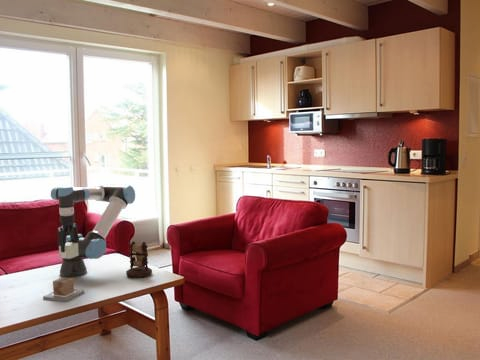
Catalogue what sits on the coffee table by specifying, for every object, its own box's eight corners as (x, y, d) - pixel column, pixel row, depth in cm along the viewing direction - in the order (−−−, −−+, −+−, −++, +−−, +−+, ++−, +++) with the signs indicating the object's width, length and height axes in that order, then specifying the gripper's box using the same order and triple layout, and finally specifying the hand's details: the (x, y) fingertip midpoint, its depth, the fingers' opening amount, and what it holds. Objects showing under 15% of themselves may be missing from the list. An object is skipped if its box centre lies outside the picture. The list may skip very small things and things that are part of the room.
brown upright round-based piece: (156, 272, 279) (155, 239, 277) (145, 279, 265) (144, 245, 263) (133, 270, 283) (132, 238, 281) (121, 278, 268) (120, 243, 266)
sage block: (59, 257, 255) (58, 245, 254) (68, 254, 261) (67, 242, 261) (70, 258, 252) (69, 246, 252) (78, 255, 259) (77, 243, 258)
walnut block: (53, 294, 237) (52, 281, 236) (63, 290, 243) (62, 277, 243) (65, 296, 234) (64, 282, 234) (74, 291, 241) (73, 278, 240)
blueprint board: (43, 299, 234) (43, 296, 234) (62, 290, 248) (62, 287, 248) (66, 301, 230) (66, 299, 230) (84, 292, 243) (84, 290, 243)
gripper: (60, 218, 244) (62, 261, 246) (84, 212, 263) (86, 252, 265) (48, 217, 246) (50, 260, 249) (73, 211, 265) (75, 251, 267)
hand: (69, 255), depth 257 cm, fingers closed on sage block, 7 cm apart
